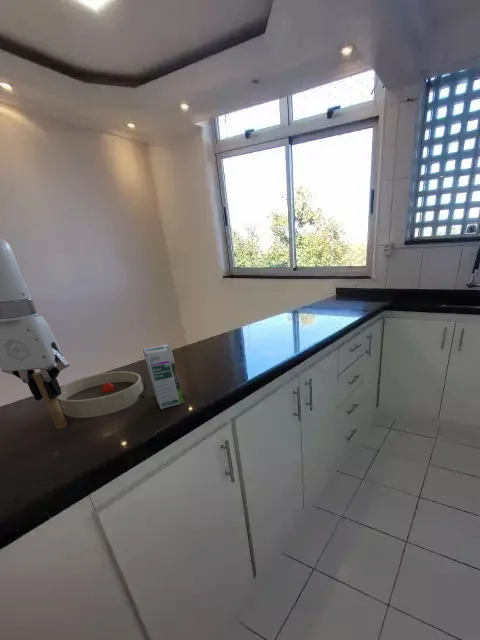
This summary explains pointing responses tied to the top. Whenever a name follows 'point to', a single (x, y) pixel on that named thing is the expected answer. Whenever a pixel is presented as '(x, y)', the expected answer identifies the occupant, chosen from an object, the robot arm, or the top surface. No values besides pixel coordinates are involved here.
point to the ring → (102, 403)
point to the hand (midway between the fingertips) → (48, 396)
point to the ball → (108, 387)
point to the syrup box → (163, 375)
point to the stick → (50, 403)
